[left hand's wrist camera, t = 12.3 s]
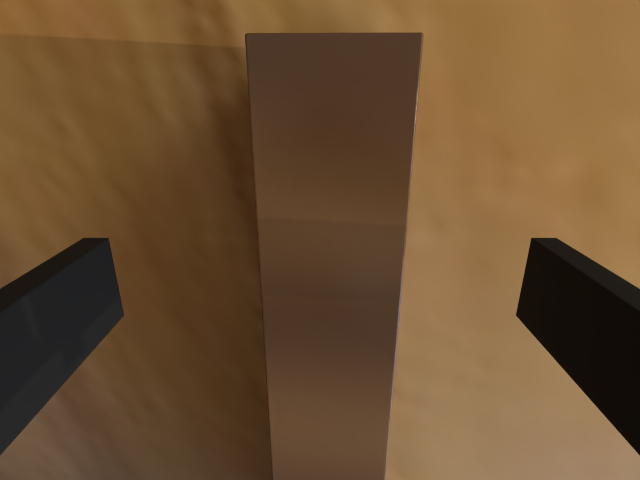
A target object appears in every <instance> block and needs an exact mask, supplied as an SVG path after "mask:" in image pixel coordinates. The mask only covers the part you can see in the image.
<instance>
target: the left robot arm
mask: <svg viewBox="0 0 640 480" xmlns="http://www.w3.org/2000/svg"><path fill="white" fill-rule="evenodd" d="M123 316H124V313H123V308H122V303H121V298H120V293H119V288H118V283H117V278H116V273H115V268H114V263H113V258H112V253H111V248H110V243H109V238H83V239H81V240H80V241H78V242H76V243H75V244H73V245H72V246H70V247H68V248H67V249H65V250H63V251H62V252H60V253H58V254H57V255H55V256H54V257H52V258H50V259H49V260H47V261H45V262H44V263H42V264H40V265H39V266H37V267H36V268H34V269H32V270H31V271H29V272H27V273H26V274H24V275H22V276H21V277H19V278H18V279H16V280H14V281H13V282H11V283H9V284H8V285H6V286H4V287H3V288H1V289H0V455H1V454H2V453H3V452H4V450H5V449H6V448H7V447H8V446H9V445H10V444H11V443H12V441H13V440H14V439H15V438H16V437H17V436H18V435H19V433H20V432H21V431H22V430H23V429H24V428H25V427H26V426H27V424H28V423H29V422H30V421H31V420H32V419H33V418H34V417H35V415H36V414H37V413H38V412H39V411H40V410H41V409H42V407H43V406H44V405H45V404H46V403H47V402H48V401H49V400H50V398H51V397H52V396H53V395H54V394H55V393H56V392H57V391H58V389H59V388H60V387H61V386H62V385H63V384H64V383H65V381H66V380H67V379H68V378H69V377H70V376H71V375H72V374H73V372H74V371H75V370H76V369H77V368H78V367H79V366H80V364H81V363H82V362H83V361H84V360H85V359H86V358H87V357H88V355H89V354H90V353H91V352H92V351H93V350H94V349H95V348H96V346H97V345H98V344H99V343H100V342H101V341H102V340H103V338H104V337H105V336H106V335H107V334H108V333H109V332H110V331H111V329H112V328H113V327H114V326H115V325H116V324H117V323H118V322H119V320H120V319H121V318H122V317H123ZM516 316H517V317H518V318H519V319H520V320H521V322H522V323H523V324H524V325H525V326H526V327H527V328H528V329H529V331H530V332H531V333H532V334H533V335H534V336H535V337H536V338H537V340H538V341H539V342H540V343H541V344H542V345H543V346H544V348H545V349H546V350H547V351H548V352H549V353H550V354H551V355H552V357H553V358H554V359H555V360H556V361H557V362H558V363H559V365H560V366H561V367H562V368H563V369H564V370H565V371H566V372H567V374H568V375H569V376H570V377H571V378H572V379H573V380H574V381H575V383H576V384H577V385H578V386H579V387H580V388H581V389H582V391H583V392H584V393H585V394H586V395H587V396H588V397H589V398H590V400H591V401H592V402H593V403H594V404H595V405H596V406H597V407H598V409H599V410H600V411H601V412H602V413H603V414H604V415H605V417H606V418H607V419H608V420H609V421H610V422H611V423H612V424H613V426H614V427H615V428H616V429H617V430H618V431H619V432H620V433H621V435H622V436H623V437H624V438H625V439H626V440H627V441H628V443H629V444H630V445H631V446H632V447H633V448H634V449H635V450H636V452H637V453H638V454H639V455H640V289H639V288H637V287H636V286H634V285H632V284H631V283H629V282H627V281H626V280H624V279H622V278H621V277H619V276H618V275H616V274H614V273H613V272H611V271H609V270H608V269H606V268H604V267H603V266H601V265H600V264H598V263H596V262H595V261H593V260H591V259H590V258H588V257H586V256H585V255H583V254H582V253H580V252H578V251H577V250H575V249H573V248H572V247H570V246H568V245H567V244H565V243H564V242H562V241H560V240H559V239H557V238H531V243H530V248H529V253H528V258H527V263H526V268H525V273H524V278H523V283H522V288H521V293H520V298H519V303H518V308H517V313H516Z"/></svg>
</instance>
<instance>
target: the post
mask: <svg viewBox="0 0 640 480" xmlns="http://www.w3.org/2000/svg"><path fill="white" fill-rule="evenodd" d="M245 43H246V59H247V75H248V91H249V107H250V123H251V140H252V156H253V172H254V188H255V204H256V220H257V236H258V252H259V268H260V284H261V300H262V316H263V332H264V348H265V365H266V381H267V397H268V413H269V429H270V445H271V461H272V477H273V480H385V478H386V466H387V454H388V443H389V431H390V419H391V408H392V396H393V384H394V373H395V361H396V349H397V338H398V326H399V314H400V302H401V291H402V279H403V267H404V256H405V244H406V232H407V221H408V209H409V197H410V186H411V174H412V162H413V151H414V139H415V127H416V116H417V104H418V92H419V80H420V69H421V57H422V45H423V33H247V34H245Z"/></svg>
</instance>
